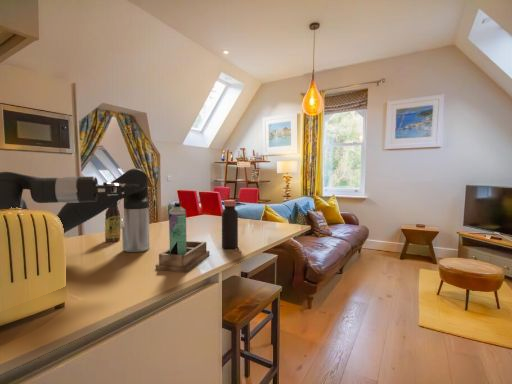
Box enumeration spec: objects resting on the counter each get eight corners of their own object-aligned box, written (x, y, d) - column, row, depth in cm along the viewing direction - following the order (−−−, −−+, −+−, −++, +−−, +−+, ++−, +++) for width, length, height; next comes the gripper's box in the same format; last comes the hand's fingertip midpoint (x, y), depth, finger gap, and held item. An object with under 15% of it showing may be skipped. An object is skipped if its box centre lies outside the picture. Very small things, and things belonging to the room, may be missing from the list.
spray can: (181, 257, 94) (180, 201, 92) (189, 261, 90) (188, 202, 88) (167, 261, 90) (165, 202, 88) (174, 265, 86) (173, 204, 85)
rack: (155, 269, 86) (155, 254, 86) (183, 252, 104) (183, 240, 104) (186, 272, 84) (186, 256, 83) (209, 254, 102) (209, 241, 102)
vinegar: (235, 249, 109) (235, 201, 108) (219, 248, 110) (219, 201, 109) (239, 245, 116) (239, 200, 114) (224, 244, 117) (224, 199, 116)
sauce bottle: (109, 243, 118) (108, 199, 117) (102, 241, 121) (100, 198, 120) (123, 240, 124) (122, 198, 122) (116, 238, 127) (115, 197, 126)
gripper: (83, 200, 83) (139, 198, 90) (72, 205, 70) (138, 202, 76) (82, 176, 83) (139, 175, 89) (70, 177, 70) (137, 176, 76)
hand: (138, 188), depth 83 cm, fingers open, 8 cm apart
